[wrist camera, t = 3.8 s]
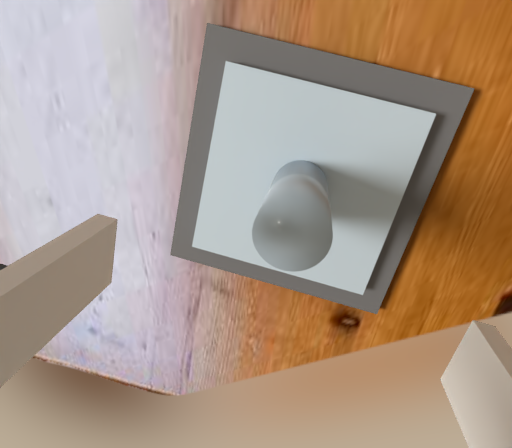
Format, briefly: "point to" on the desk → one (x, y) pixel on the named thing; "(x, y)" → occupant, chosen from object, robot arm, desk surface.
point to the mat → (336, 76)
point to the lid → (305, 176)
